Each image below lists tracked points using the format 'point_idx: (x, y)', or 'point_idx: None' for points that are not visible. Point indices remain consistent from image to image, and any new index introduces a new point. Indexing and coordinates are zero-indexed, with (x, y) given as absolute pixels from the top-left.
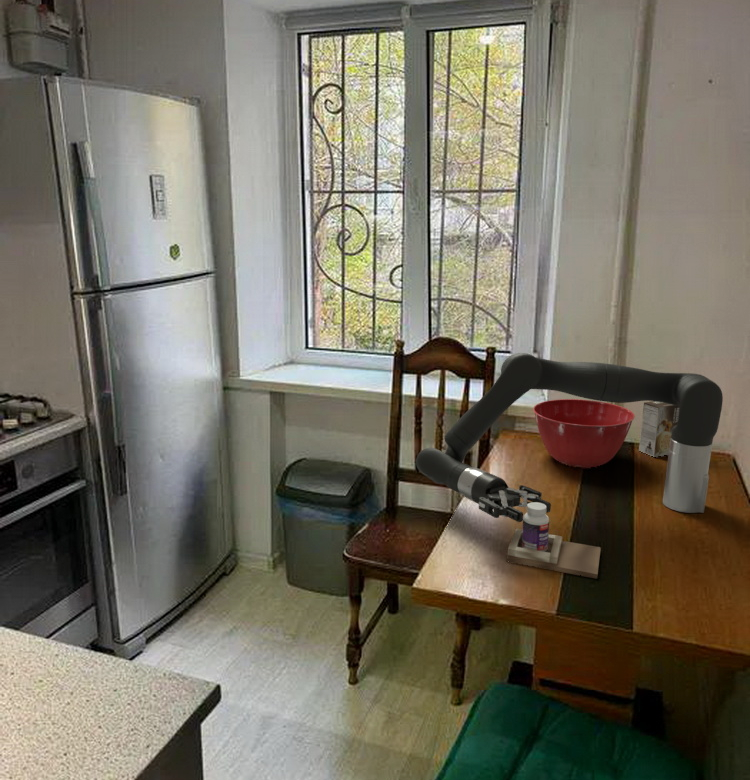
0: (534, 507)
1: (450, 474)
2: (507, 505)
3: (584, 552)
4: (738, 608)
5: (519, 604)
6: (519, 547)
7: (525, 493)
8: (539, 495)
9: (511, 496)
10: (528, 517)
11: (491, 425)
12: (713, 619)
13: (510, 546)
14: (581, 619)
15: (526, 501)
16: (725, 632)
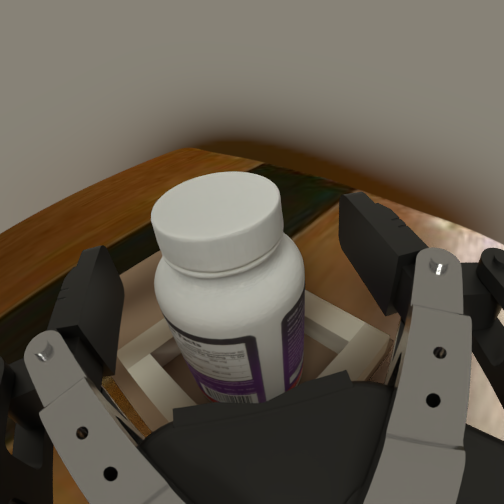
0: (247, 187)
1: None
2: (420, 261)
3: (125, 302)
4: (107, 179)
5: (412, 212)
6: (339, 335)
7: (88, 383)
8: (10, 365)
9: (270, 445)
10: (287, 247)
11: None
12: (152, 169)
13: (374, 347)
14: (321, 178)
15: (121, 416)
16: (167, 158)
